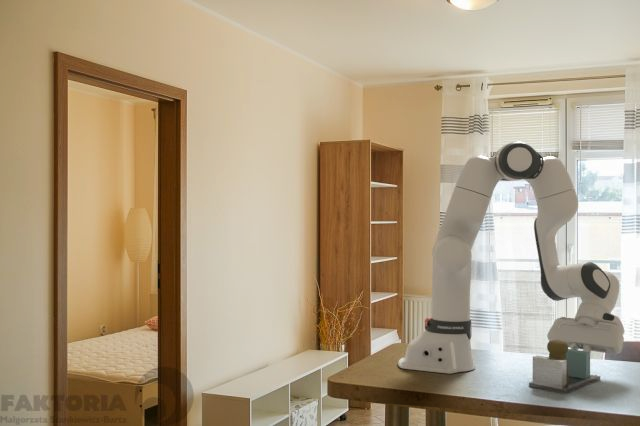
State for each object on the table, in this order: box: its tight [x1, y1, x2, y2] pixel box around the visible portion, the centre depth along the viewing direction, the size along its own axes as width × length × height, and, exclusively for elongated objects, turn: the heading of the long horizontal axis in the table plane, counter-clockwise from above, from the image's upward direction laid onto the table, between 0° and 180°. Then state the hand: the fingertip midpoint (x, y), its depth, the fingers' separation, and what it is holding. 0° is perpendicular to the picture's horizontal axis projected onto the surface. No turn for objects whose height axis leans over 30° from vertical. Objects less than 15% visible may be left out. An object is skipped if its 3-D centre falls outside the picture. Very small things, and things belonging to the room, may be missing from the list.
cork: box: [546, 340, 570, 385], centre depth 174 cm, size 6×6×11 cm
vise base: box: [528, 355, 601, 395], centre depth 177 cm, size 21×10×8 cm, turn 135°
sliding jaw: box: [566, 348, 591, 379], centre depth 180 cm, size 2×8×7 cm, turn 45°
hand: (576, 359), depth 182 cm, fingers closed, pressing on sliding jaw
